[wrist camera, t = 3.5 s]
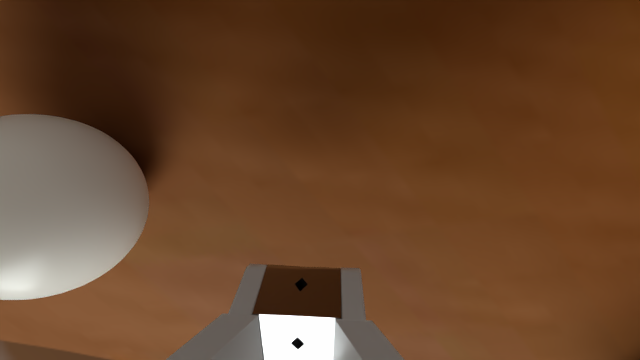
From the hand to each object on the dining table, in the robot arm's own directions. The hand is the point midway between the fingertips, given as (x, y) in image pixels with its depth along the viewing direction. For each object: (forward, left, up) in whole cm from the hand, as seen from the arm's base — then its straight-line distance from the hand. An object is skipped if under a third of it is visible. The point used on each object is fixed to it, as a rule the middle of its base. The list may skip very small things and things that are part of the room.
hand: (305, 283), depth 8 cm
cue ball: (+8, -1, -1) cm, 8 cm away
